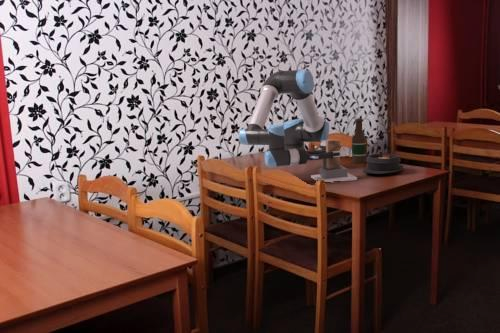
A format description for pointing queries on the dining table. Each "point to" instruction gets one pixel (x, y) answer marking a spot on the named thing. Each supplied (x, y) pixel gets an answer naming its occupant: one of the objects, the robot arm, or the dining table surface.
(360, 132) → the beer bottle
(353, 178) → the end cap plate
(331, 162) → the walnut slat
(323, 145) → the coffee cup
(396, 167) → the casserole
